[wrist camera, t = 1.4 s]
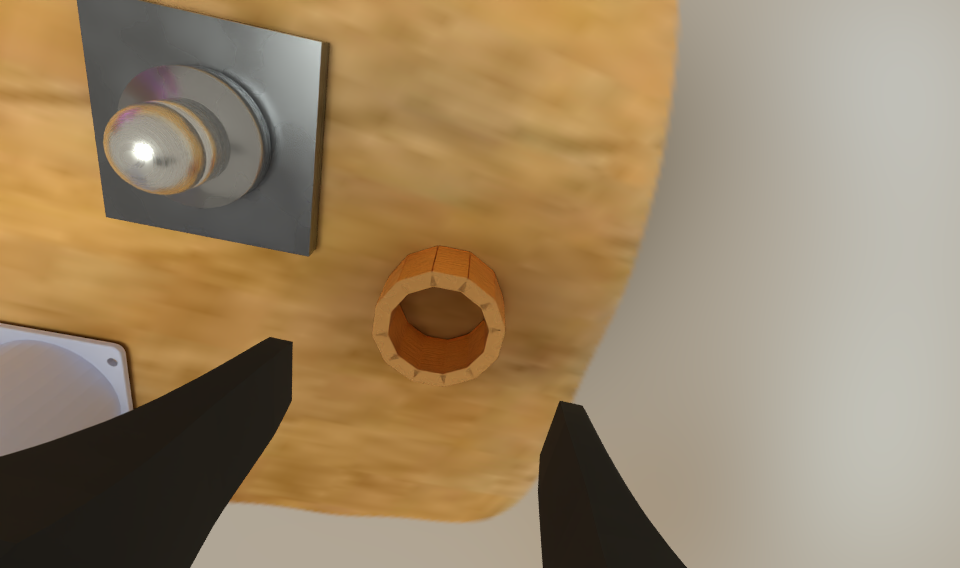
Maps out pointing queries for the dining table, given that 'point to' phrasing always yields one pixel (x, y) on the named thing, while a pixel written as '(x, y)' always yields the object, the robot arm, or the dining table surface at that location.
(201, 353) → the dining table surface
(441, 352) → the wooden ring
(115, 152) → the stand
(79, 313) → the dining table surface
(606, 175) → the dining table surface
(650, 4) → the dining table surface
